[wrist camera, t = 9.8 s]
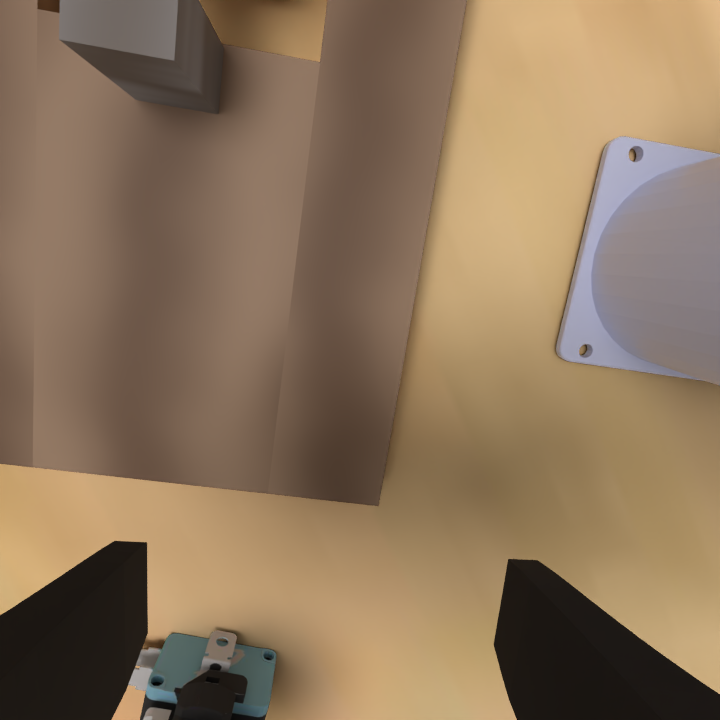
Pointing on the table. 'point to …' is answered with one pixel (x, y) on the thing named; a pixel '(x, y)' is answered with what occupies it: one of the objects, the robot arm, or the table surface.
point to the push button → (205, 679)
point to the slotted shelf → (213, 240)
